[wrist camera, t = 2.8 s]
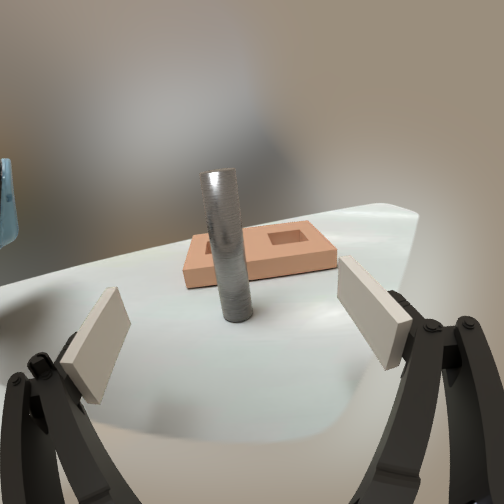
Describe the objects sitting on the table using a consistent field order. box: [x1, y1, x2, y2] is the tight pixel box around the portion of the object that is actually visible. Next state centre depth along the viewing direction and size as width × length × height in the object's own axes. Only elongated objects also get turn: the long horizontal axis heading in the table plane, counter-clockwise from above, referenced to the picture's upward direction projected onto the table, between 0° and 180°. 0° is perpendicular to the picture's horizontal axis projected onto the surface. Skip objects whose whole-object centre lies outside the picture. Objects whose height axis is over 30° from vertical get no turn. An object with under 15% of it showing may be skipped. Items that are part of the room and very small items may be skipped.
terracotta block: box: [183, 220, 337, 288], centre depth 39 cm, size 19×13×2 cm
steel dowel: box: [200, 168, 253, 322], centre depth 25 cm, size 3×3×14 cm
